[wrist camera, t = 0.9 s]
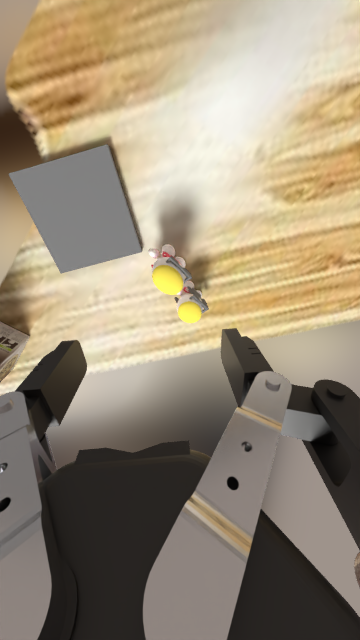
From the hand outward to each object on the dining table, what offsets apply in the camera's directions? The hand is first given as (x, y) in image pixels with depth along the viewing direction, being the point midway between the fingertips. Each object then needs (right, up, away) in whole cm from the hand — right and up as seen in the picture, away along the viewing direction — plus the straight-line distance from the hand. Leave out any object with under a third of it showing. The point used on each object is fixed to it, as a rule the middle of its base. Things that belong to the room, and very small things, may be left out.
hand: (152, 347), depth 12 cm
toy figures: (+1, +8, +20) cm, 22 cm away
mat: (-11, +15, +15) cm, 24 cm away
